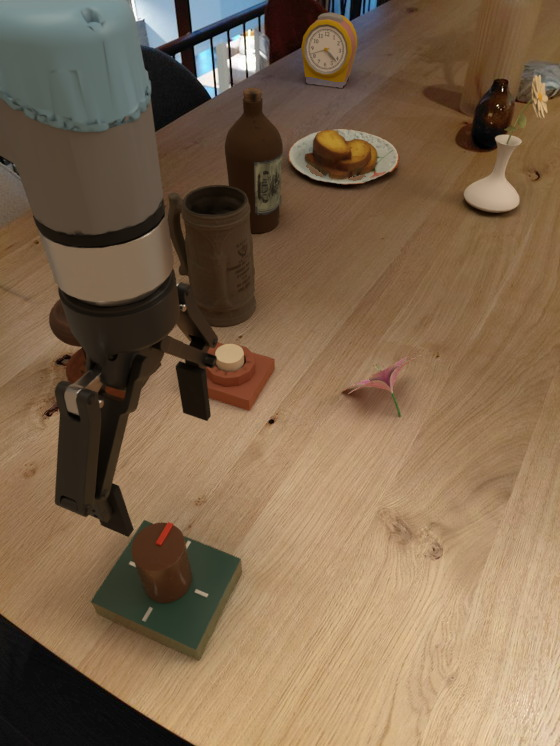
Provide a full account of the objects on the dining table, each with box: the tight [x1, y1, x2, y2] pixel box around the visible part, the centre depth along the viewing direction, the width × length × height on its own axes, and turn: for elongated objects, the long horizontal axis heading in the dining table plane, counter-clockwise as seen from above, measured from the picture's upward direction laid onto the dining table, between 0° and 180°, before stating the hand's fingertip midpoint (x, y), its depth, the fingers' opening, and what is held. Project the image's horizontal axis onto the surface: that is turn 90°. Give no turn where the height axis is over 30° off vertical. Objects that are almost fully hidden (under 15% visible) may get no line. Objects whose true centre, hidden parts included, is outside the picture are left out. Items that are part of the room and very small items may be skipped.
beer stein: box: [167, 184, 257, 328], centre depth 89 cm, size 15×11×20 cm
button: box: [215, 343, 244, 372], centre depth 80 cm, size 4×4×2 cm
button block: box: [206, 341, 276, 412], centre depth 82 cm, size 10×9×4 cm
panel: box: [90, 519, 243, 662], centre depth 60 cm, size 12×10×3 cm
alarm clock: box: [301, 12, 358, 82], centre depth 166 cm, size 15×8×18 cm, turn 72°
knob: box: [131, 521, 192, 603], centre depth 56 cm, size 5×5×7 cm
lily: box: [341, 351, 422, 418], centre depth 78 cm, size 12×12×10 cm
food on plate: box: [287, 128, 400, 186], centre depth 131 cm, size 25×25×7 cm
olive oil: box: [224, 87, 284, 234], centre depth 106 cm, size 11×11×25 cm
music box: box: [48, 298, 126, 399], centre depth 76 cm, size 15×11×20 cm
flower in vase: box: [463, 74, 549, 214], centre depth 112 cm, size 13×11×25 cm
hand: (160, 466), depth 52 cm, fingers open, 13 cm apart
